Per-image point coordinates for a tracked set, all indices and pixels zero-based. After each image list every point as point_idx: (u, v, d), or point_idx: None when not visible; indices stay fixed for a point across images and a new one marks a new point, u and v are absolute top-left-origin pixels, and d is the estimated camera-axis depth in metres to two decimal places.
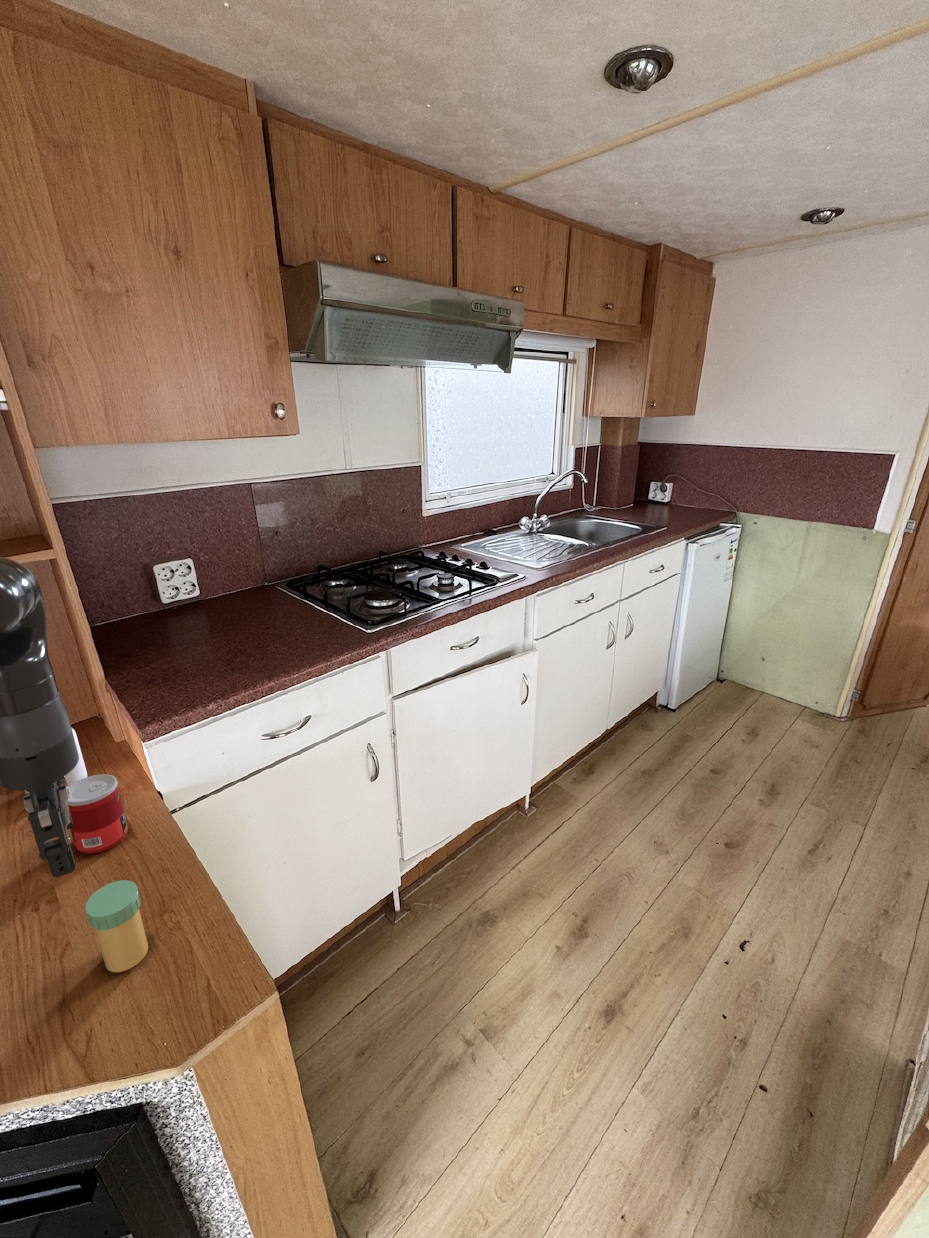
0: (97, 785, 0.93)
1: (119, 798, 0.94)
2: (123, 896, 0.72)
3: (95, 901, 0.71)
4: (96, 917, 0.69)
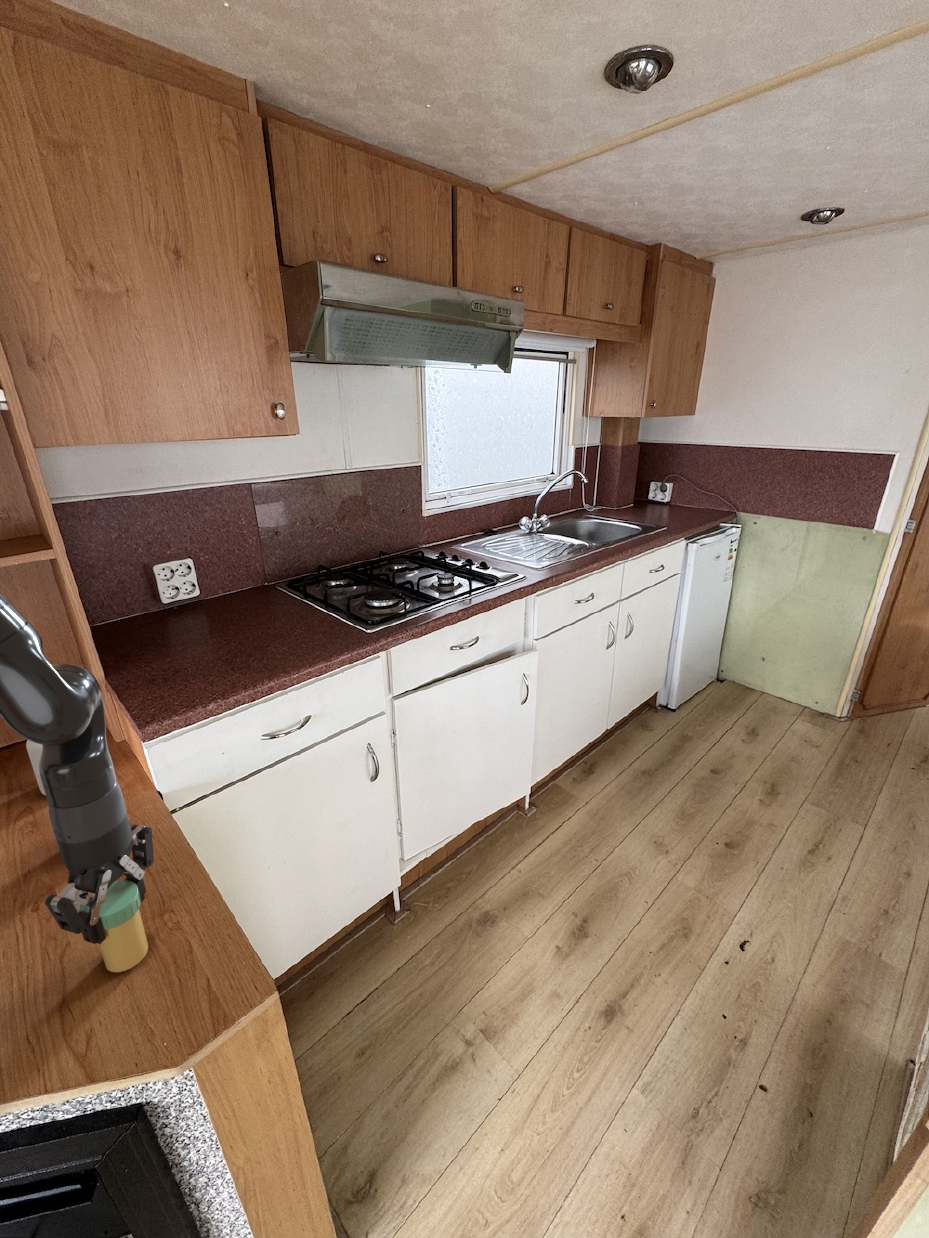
0: None
1: None
2: (123, 896, 0.72)
3: None
4: None
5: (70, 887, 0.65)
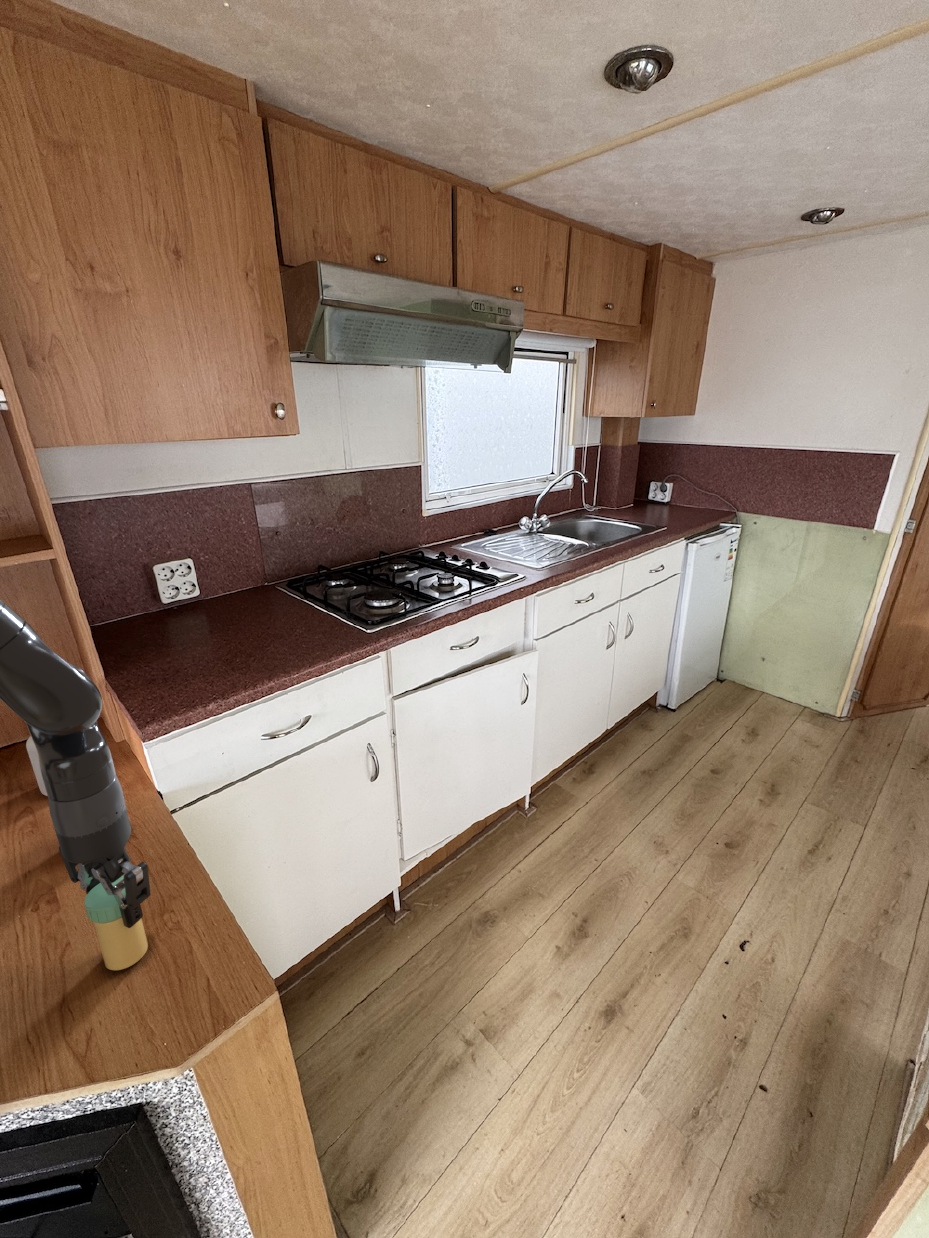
0: None
1: None
2: None
3: (104, 902, 0.70)
4: None
5: (127, 863, 0.68)
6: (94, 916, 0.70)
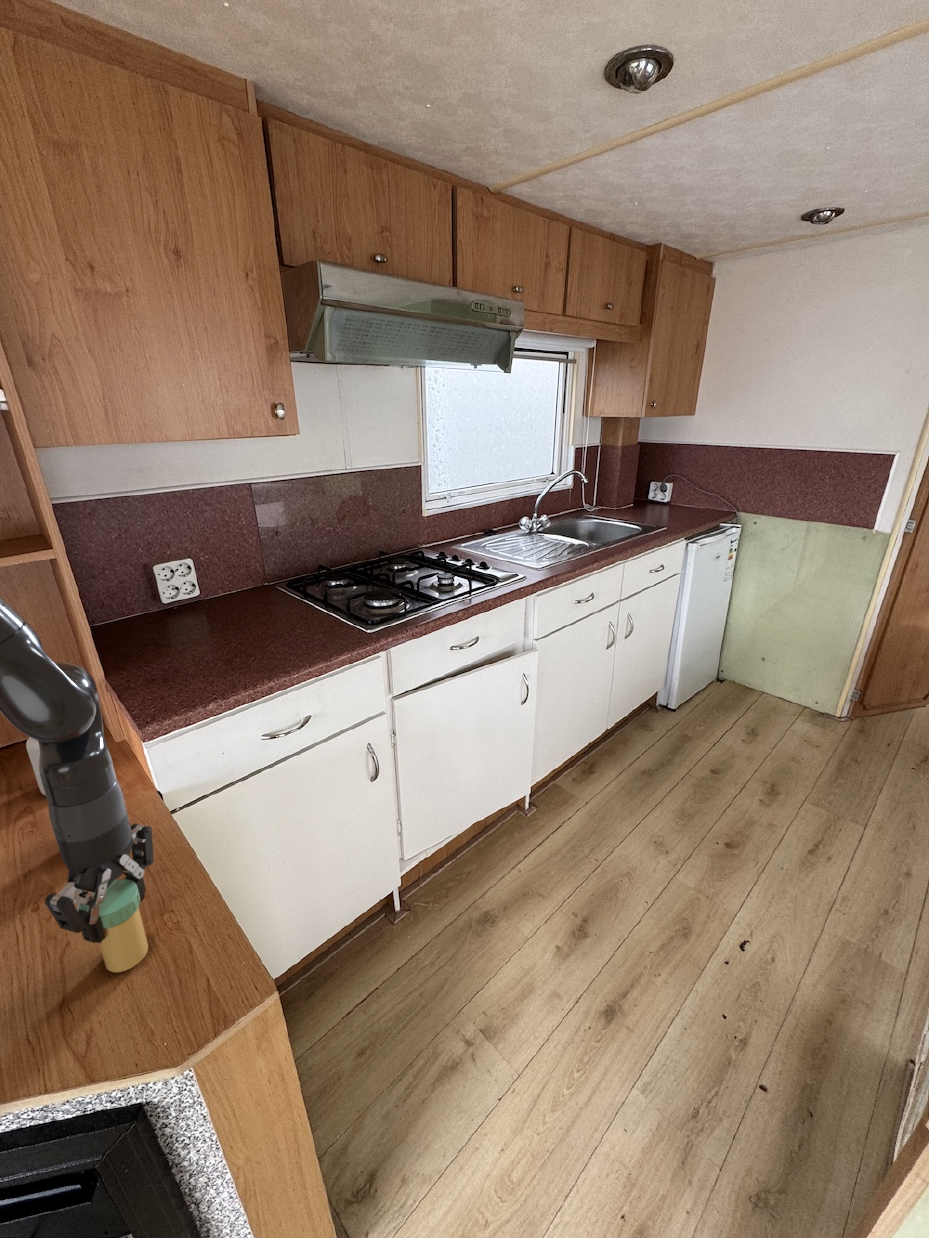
0: None
1: None
2: (116, 887, 0.73)
3: (107, 908, 0.70)
4: (132, 898, 0.71)
5: (70, 886, 0.65)
6: None
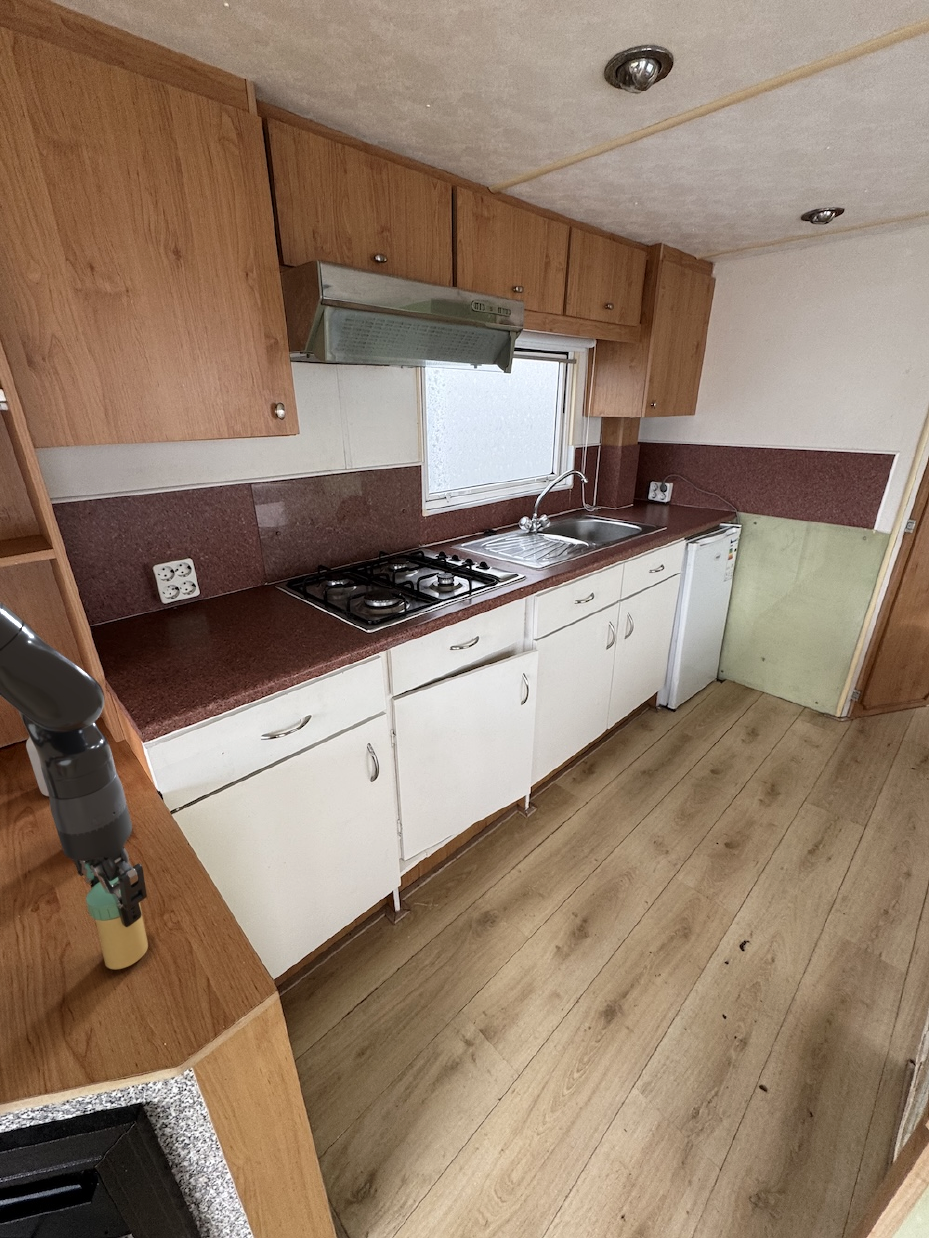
0: None
1: None
2: (102, 888, 0.72)
3: None
4: None
5: (124, 863, 0.68)
6: None
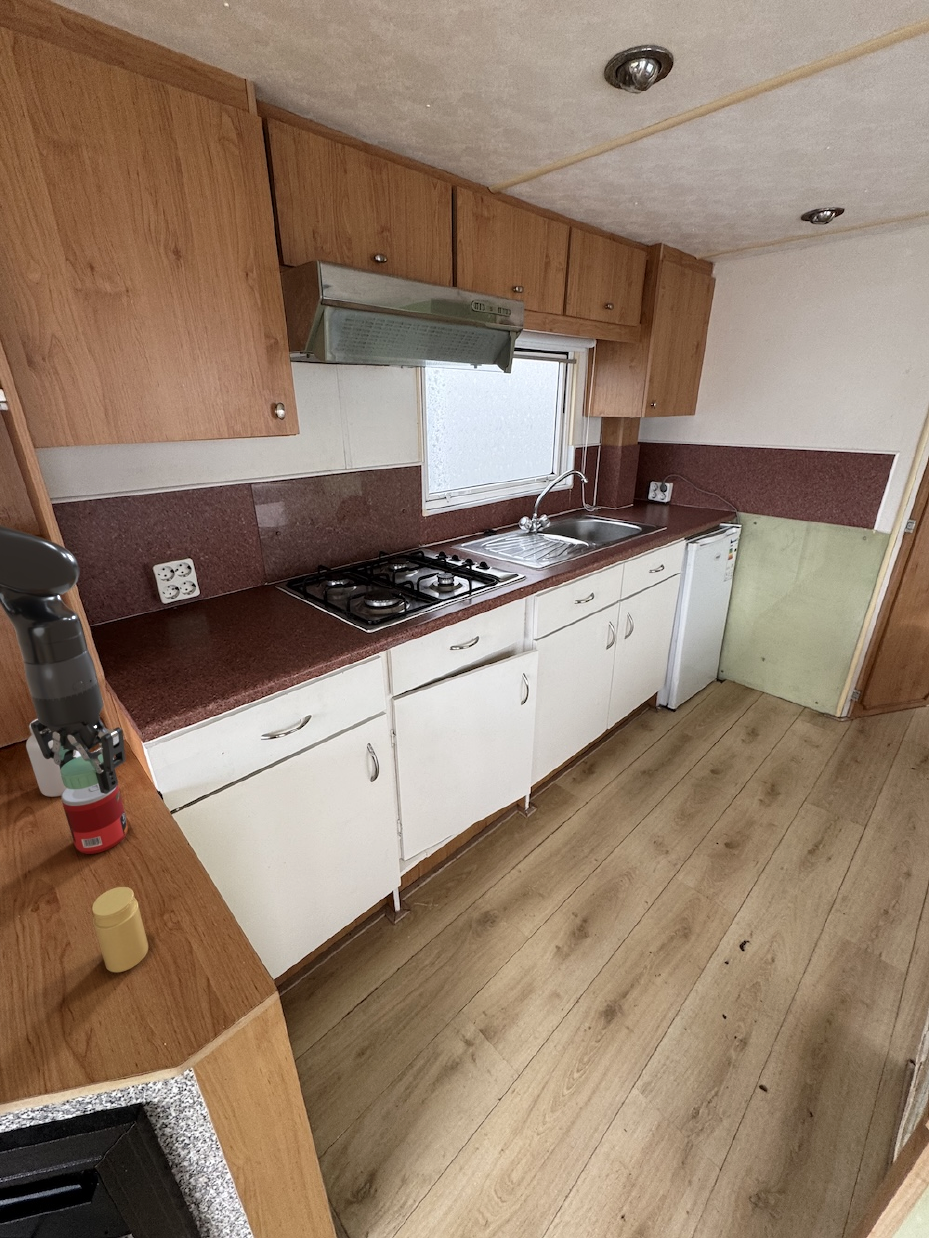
0: (97, 785, 0.93)
1: (119, 798, 0.94)
2: (74, 764, 0.77)
3: (100, 760, 0.78)
4: None
5: (102, 728, 0.75)
6: None
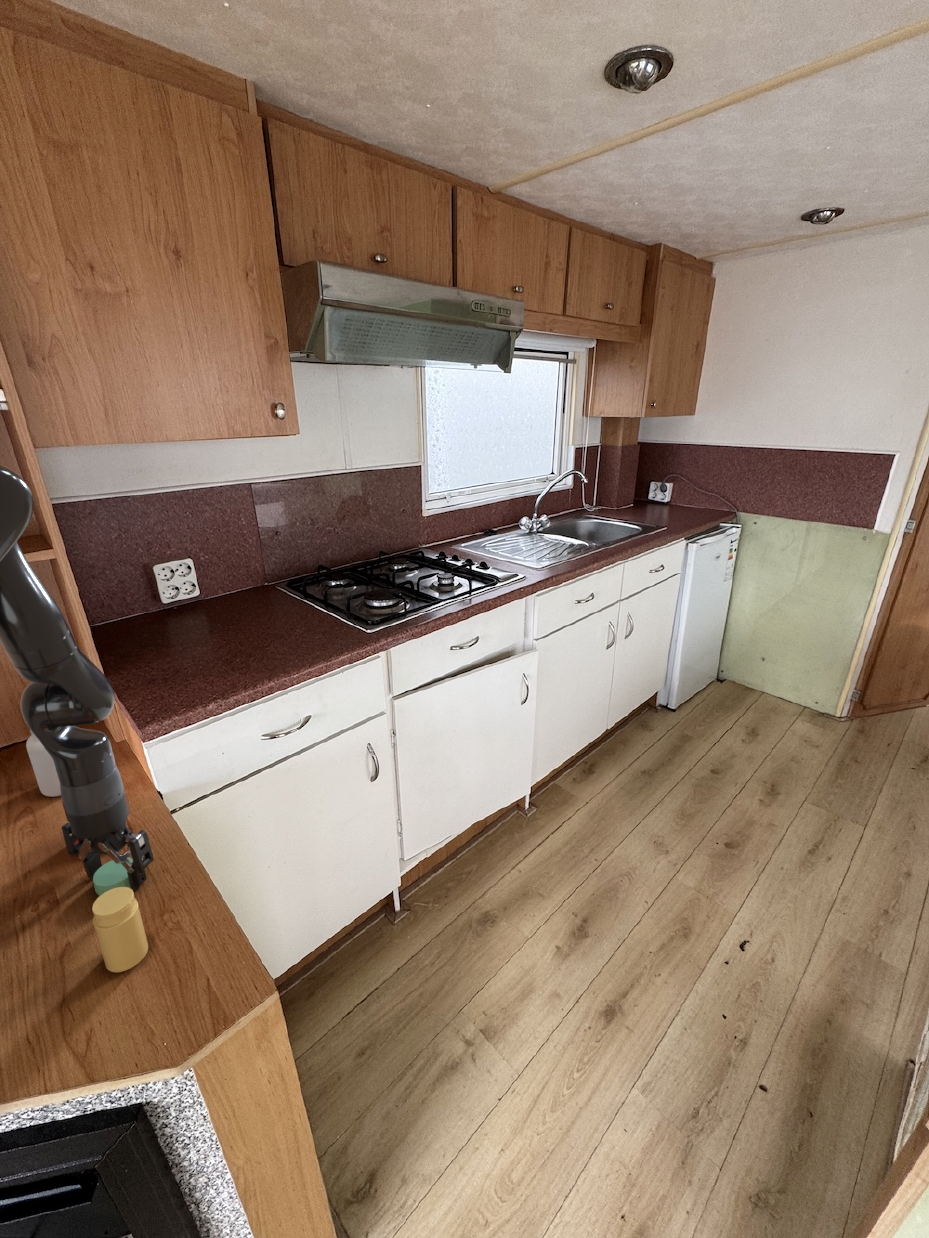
0: None
1: None
2: (105, 872, 0.86)
3: None
4: None
5: (128, 833, 0.83)
6: None
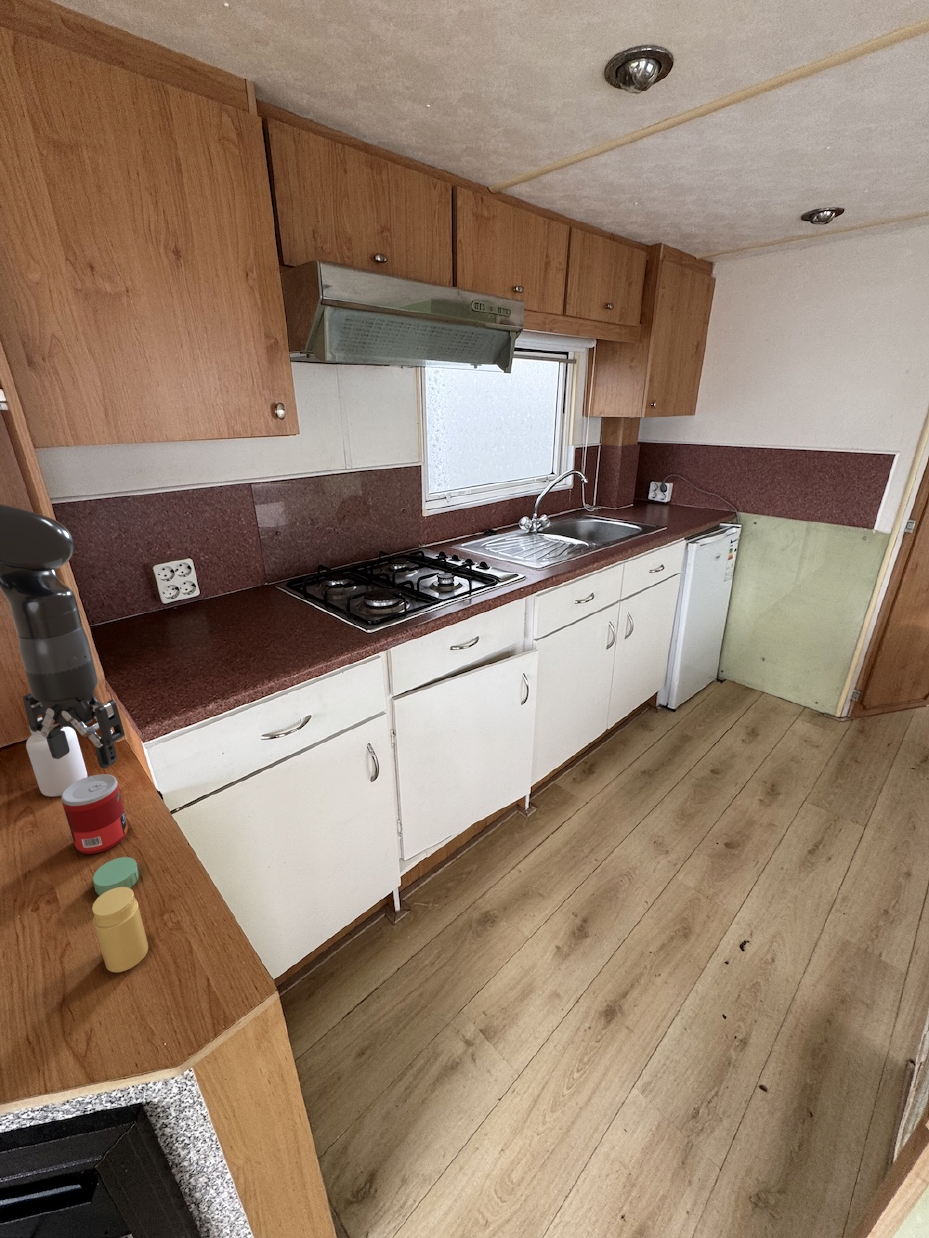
0: (97, 785, 0.93)
1: (119, 798, 0.94)
2: (105, 872, 0.86)
3: (128, 868, 0.86)
4: (127, 857, 0.89)
5: (96, 703, 0.75)
6: (134, 878, 0.86)
